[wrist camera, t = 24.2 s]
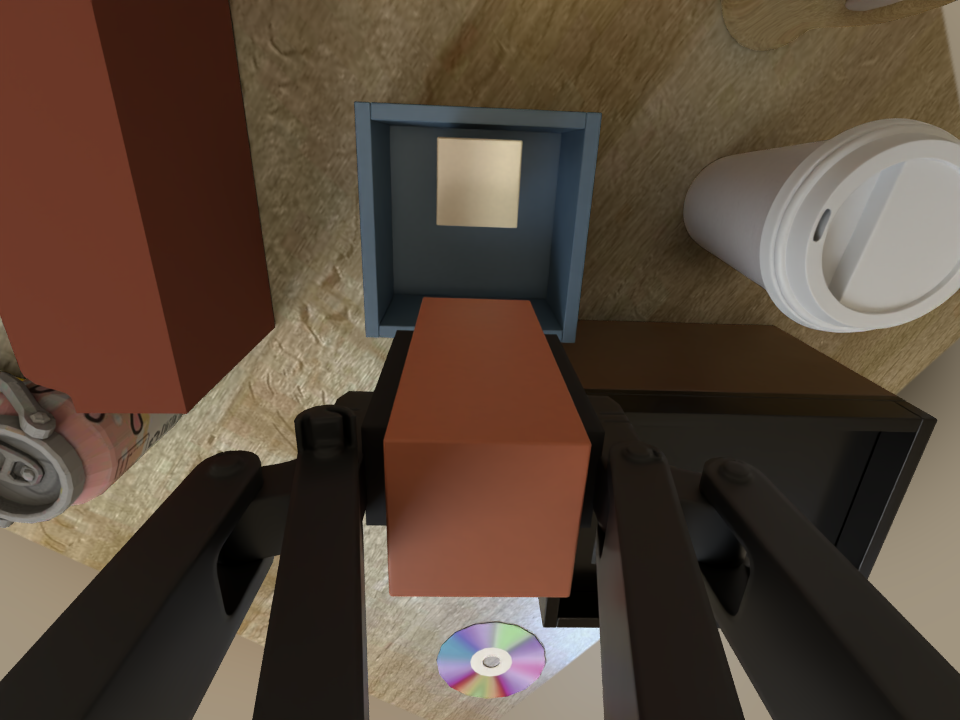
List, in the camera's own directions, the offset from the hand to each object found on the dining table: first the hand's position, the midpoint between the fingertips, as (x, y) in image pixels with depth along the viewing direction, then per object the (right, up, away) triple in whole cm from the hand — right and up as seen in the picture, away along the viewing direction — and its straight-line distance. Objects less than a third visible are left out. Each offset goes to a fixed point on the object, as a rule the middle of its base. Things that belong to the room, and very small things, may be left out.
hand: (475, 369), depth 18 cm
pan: (+9, -3, +23) cm, 25 cm away
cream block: (0, +13, +16) cm, 20 cm away
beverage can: (-27, -1, +21) cm, 34 cm away
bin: (0, +10, +17) cm, 20 cm away
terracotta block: (0, +1, +2) cm, 2 cm away
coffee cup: (+17, +11, +18) cm, 27 cm away
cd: (+1, -31, +34) cm, 46 cm away
